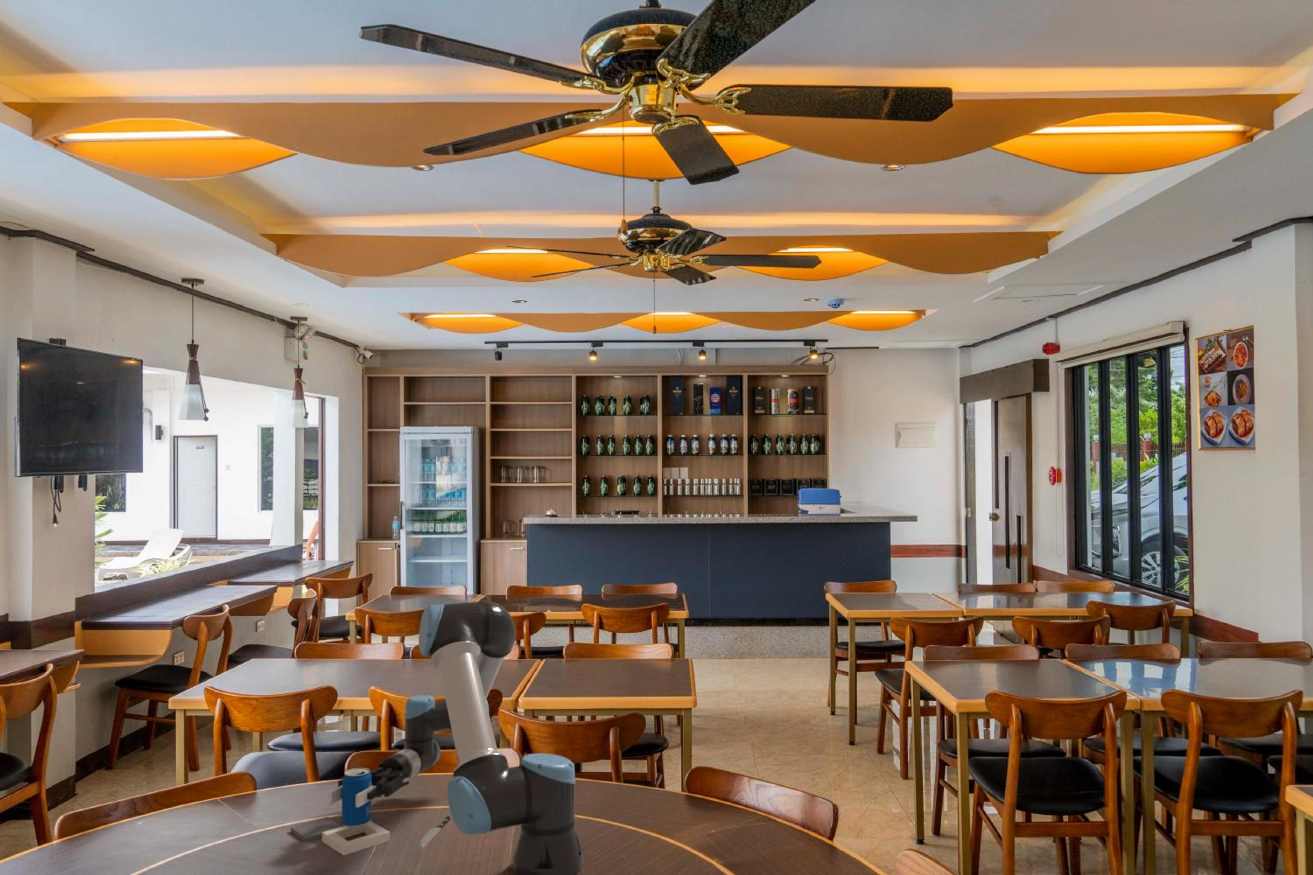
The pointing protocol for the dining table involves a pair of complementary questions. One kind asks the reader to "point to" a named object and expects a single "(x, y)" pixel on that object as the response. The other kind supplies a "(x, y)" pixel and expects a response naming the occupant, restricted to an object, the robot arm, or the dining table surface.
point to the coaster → (314, 829)
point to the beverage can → (351, 786)
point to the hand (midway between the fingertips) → (343, 799)
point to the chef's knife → (433, 833)
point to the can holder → (346, 847)
